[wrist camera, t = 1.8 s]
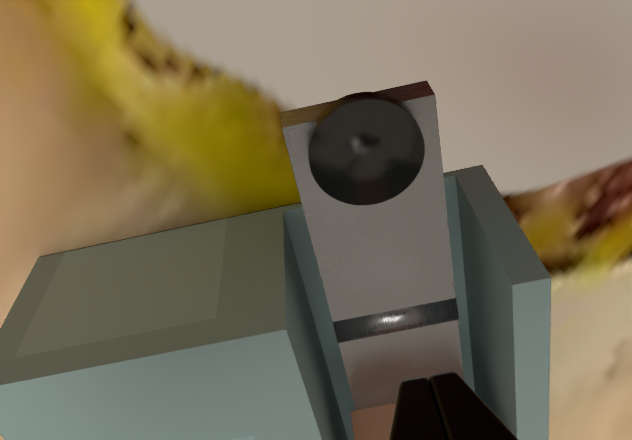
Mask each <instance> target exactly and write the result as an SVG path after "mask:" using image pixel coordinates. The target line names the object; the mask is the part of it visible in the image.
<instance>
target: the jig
mask: <svg viewBox="0 0 632 440" xmlns="http://www.w3.org/2000/svg"><path fill="white" fill-rule="evenodd" d="M443 178H444V188H445V198H446V207H447V217H448V227H449V237H450V247H451V256H452V266H453V276H454V286H455V296H456V301H457V307H458V314H459V319H458V325H459V335H460V345H461V354H462V364H463V374H464V381H465V382H466V383H467V384H468V386H469V387H470V388H471V389H472V390H473V391H474V392H475V393H476V394H477V395H478V396H479V397H480V399H481V400H482V401H483V402H484V403H485V404H486V405H487V406H488V407H489V408H490V409H491V410H492V412H493V413H494V414H495V415H496V416H497V417H498V418H499V419H500V420H501V421H502V422H503V424H504V425H505V426H506V427H507V428H508V429H509V430H510V431H511V432H512V433H513V434H514V435H515V437H516V438H517V439H518V440H548V436H549V373H550V309H551V277H550V275H549V274H548V272H547V270H546V269H545V267H544V265H543V264H542V262H541V260H540V259H539V257H538V255H537V254H536V252H535V251H534V249H533V247H532V246H531V244H530V242H529V241H528V239H527V237H526V236H525V234H524V232H523V231H522V229H521V228H520V226H519V224H518V223H517V221H516V219H515V218H514V216H513V214H512V213H511V211H510V209H509V208H508V206H507V204H506V203H505V201H504V200H503V198H502V196H501V195H500V193H499V191H498V190H497V188H496V186H495V185H494V183H493V181H492V180H491V178H490V177H489V175H488V173H487V172H486V170H485V168H484V167H483V165H480V166H475V167H470V168H465V169H460V170H456V171H451V172H446V173H443ZM355 410H356V409H355V405H354V401H353V397H352V394H351V390H350V386H349V382H348V378H347V374H346V371H345V367H344V363H343V359H342V355H341V352H340V348H339V344H338V342H337V339H336V335H335V330H334V326H333V321H332V317H331V313H330V310H329V306H328V302H327V298H326V294H325V291H324V287H323V283H322V279H321V275H320V272H319V268H318V264H317V260H316V256H315V252H314V249H313V245H312V241H311V237H310V233H309V230H308V226H307V222H306V218H305V214H304V211H303V207H302V203H298V204H293V205H288V206H283V207H278V208H274V209H269V210H264V211H259V212H254V213H250V214H245V215H240V216H235V217H230V218H226V219H221V220H216V221H211V222H207V223H202V224H197V225H192V226H187V227H183V228H178V229H173V230H168V231H163V232H159V233H154V234H149V235H144V236H140V237H135V238H130V239H125V240H120V241H116V242H111V243H106V244H101V245H96V246H92V247H87V248H82V249H77V250H72V251H68V252H63V253H58V254H53V255H49V256H44V257H39V258H38V259H37V261H36V263H35V265H34V267H33V269H32V270H31V272H30V274H29V276H28V278H27V280H26V282H25V284H24V285H23V287H22V289H21V291H20V293H19V295H18V297H17V299H16V300H15V302H14V304H13V306H12V308H11V310H10V312H9V313H8V315H7V317H6V319H5V321H4V323H3V325H2V327H1V328H0V434H1V435H2V437H3V438H4V439H5V440H354V434H353V426H352V419H351V411H355Z"/></svg>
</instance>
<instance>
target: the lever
mask: <svg viewBox="0 0 632 440" xmlns="http://www.w3.org/2000/svg"><path fill="white" fill-rule="evenodd" d="M281 117H282V130H283V134H284V138H285V142H286V146H287V150H288V153H289V157H290V161H291V165H292V169H293V172H294V176H295V180H296V184H297V188H298V191H299V195H300V199H301V203H302V207H303V211H304V214H305V218H306V222H307V226H308V230H309V233H310V237H311V241H312V245H313V249H314V252H315V256H316V260H317V264H318V268H319V272H320V275H321V279H322V283H323V287H324V291H325V294H326V298H327V302H328V306H329V310H330V313H331V317H332V321H333V326H334V330H335V335H336V339H337V342H338V344H339V348H340V352H341V355H342V359H343V363H344V367H345V371H346V374H347V378H348V382H349V386H350V390H351V394H352V397H353V401H354V405H355V409H356V410H361V409H366V408H371V407H377V406H382V405H388V404H393V403H396V402H397V397H398V392H399V387H400V384H401V382H402V381H403V380H407V379H412V378H418V377H426V378H427V379H428V381H429V377H430V376H431V375H433V374H439V373H444V372H449V371H453V372H456V373H457V374H458V375H459V376H460V377H461V378H462V379H463V380H464V374H463V364H462V354H461V345H460V335H459V325H458V319H459V314H458V307H457V301H456V296H455V286H454V276H453V266H452V256H451V247H450V237H449V227H448V217H447V207H446V198H445V188H444V178H443V168H442V159H441V149H440V139H439V129H438V119H437V109H436V99H435V94H434V92H433V90H432V89H431V87H430V86H429V84H428V82H427V81H422V82H418V83H413V84H409V85H404V86H399V87H395V88H390V89H386V90H381V91H377V92H360V93H354V94H351V95H347V96H345V97H343V98H340V99H338V100H335V101H331V102H326V103H322V104H317V105H313V106H308V107H304V108H299V109H294V110H290V111H285V112H281Z"/></svg>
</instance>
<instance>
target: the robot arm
mask: <svg viewBox="0 0 632 440" xmlns="http://www.w3.org/2000/svg"><path fill="white" fill-rule="evenodd" d="M389 440H518V439H517V438H516V437H515V435H514V434H513V433H512V432H511V431H510V430H509V429H508V428H507V427H506V426H505V425H504V424H503V422H502V421H501V420H500V419H499V418H498V417H497V416H496V415H495V414H494V413H493V412H492V410H491V409H490V408H489V407H488V406H487V405H486V404H485V403H484V402H483V401H482V400H481V399H480V397H479V396H478V395H477V394H476V393H475V392H474V391H473V390H472V389H471V388H470V387H469V386H468V384H467V383H466V382H465V381H464V380H463V379H462V378H461V377H460V376H459V375H458V374H457V373H456V372H453V371H449V372H444V373H439V374H433V375H431V376H430V377H429V381H428V379H427V378H426V377H418V378H412V379H407V380H403V381H402V382H401V384H400V387H399V392H398V397H397V402H396V407H395V412H394V417H393V422H392V428H391V433H390V438H389Z"/></svg>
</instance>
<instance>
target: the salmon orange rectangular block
mask: <svg viewBox="0 0 632 440" xmlns="http://www.w3.org/2000/svg"><path fill="white" fill-rule="evenodd" d="M395 407H396V403H393V404H388V405H382V406H377V407H371V408H366V409H361V410H355V411H351V419H352V426H353V434H354V440H389V438H390V433H391V428H392V422H393V417H394V412H395Z"/></svg>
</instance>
